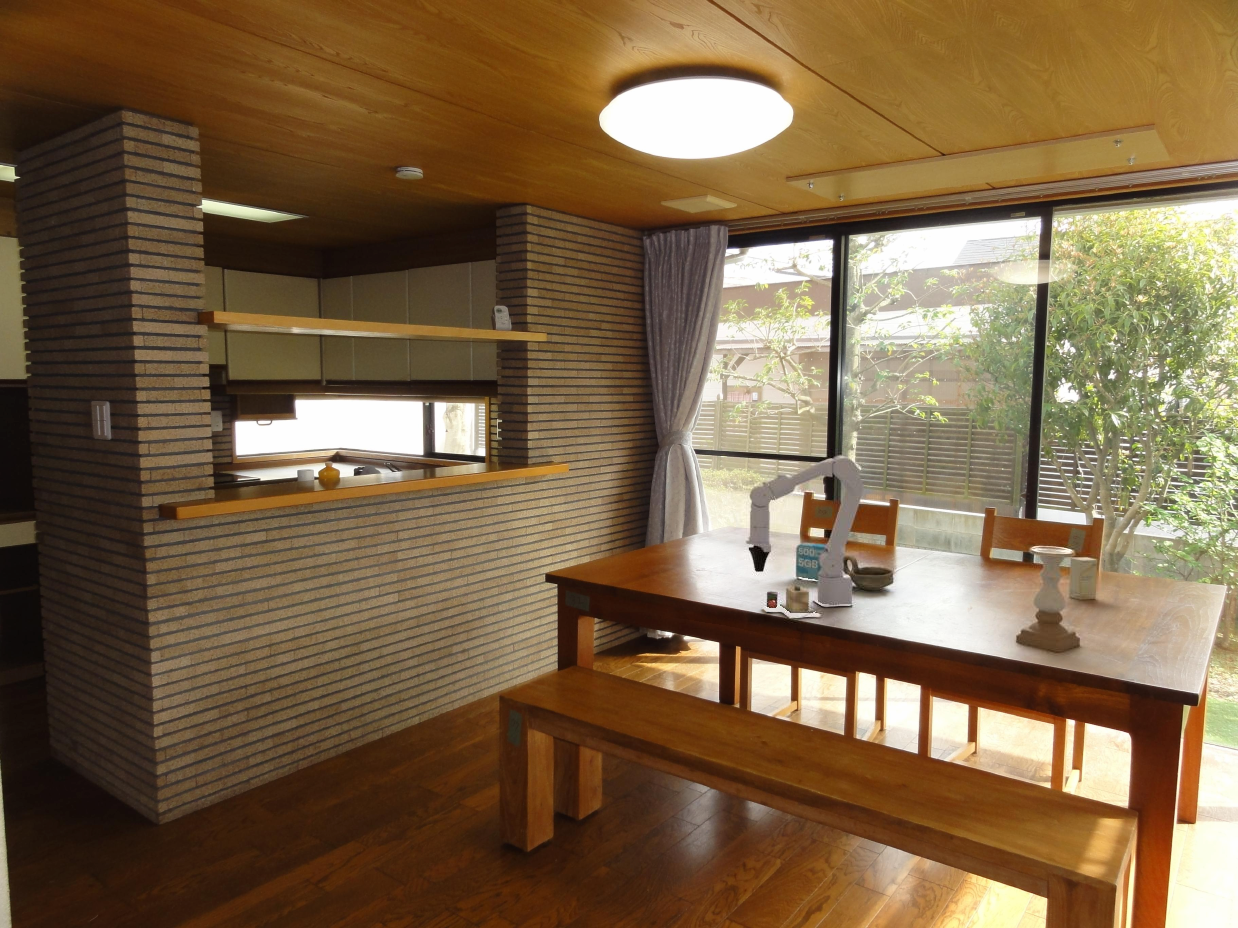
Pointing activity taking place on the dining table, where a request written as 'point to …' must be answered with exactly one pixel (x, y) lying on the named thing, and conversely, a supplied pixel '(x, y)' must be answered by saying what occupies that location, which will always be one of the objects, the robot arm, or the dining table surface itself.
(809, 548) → the data package
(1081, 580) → the skincare box
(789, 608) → the grey square slab
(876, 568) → the bowl
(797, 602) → the block
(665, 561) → the dining table surface
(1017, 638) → the candle holder
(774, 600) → the lever
